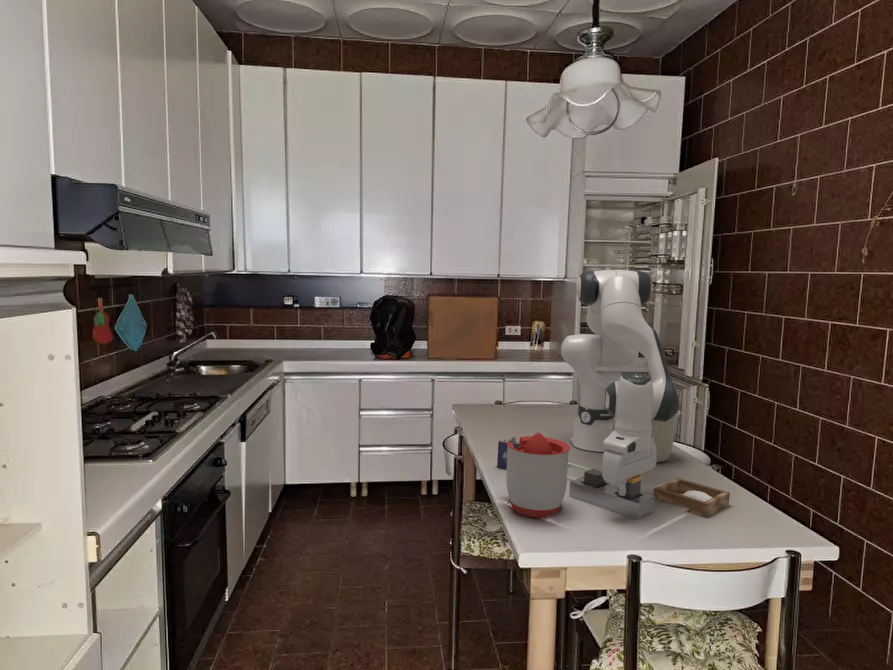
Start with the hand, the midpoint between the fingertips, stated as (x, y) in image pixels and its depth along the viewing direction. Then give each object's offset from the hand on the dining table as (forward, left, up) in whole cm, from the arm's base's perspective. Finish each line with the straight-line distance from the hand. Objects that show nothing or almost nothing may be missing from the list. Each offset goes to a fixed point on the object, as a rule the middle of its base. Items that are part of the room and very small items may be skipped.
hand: (628, 492), depth 157 cm
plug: (0, 0, -3) cm, 3 cm away
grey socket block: (0, -5, -5) cm, 7 cm away
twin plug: (0, -10, -4) cm, 11 cm away
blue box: (-2, -40, -6) cm, 40 cm away
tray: (-12, -25, -5) cm, 28 cm away
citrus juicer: (+17, -17, -6) cm, 25 cm away
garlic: (-20, +9, -6) cm, 22 cm away
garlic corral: (-20, +7, -5) cm, 22 cm away
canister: (-48, -21, -6) cm, 53 cm away
